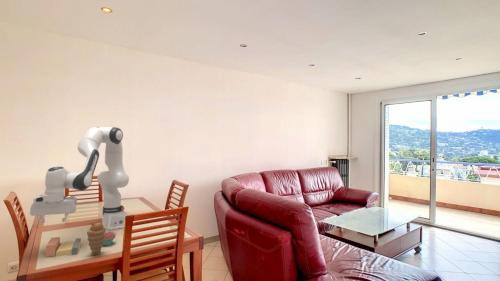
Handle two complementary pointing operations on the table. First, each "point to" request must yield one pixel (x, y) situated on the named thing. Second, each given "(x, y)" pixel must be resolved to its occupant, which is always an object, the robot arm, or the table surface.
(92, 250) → the cat ice cream
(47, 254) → the block
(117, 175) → the robot arm
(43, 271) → the table surface
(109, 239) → the cupcake
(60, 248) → the yellow slab with bar
